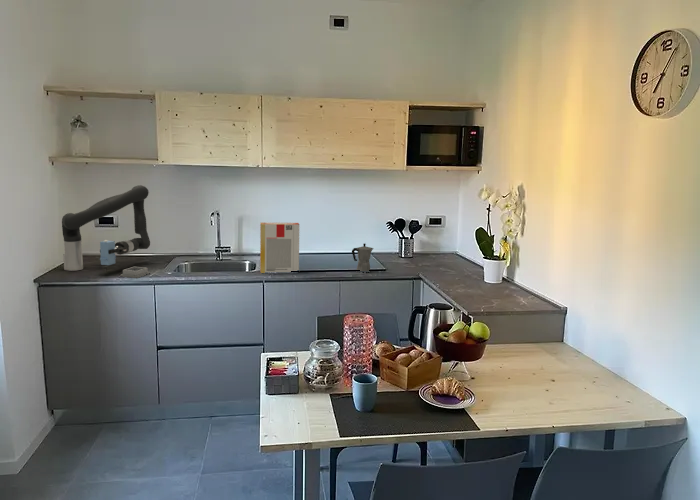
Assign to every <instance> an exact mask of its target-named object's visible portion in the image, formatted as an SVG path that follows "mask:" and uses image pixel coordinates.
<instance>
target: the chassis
mask: <svg viewBox="0 0 700 500" xmlns="http://www.w3.org/2000/svg"><path fill="white" fill-rule="evenodd" d="M149 273H150V274H151V271H148V267H141V266H131V267H129V268H125V269H122V273H121V274H120V276H122V278H130V277H131V278H133V279H139V278H142V277H144V275H145V276H147V275H146V274H148V275H150V274H149ZM141 276H142V277H141Z"/></svg>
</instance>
